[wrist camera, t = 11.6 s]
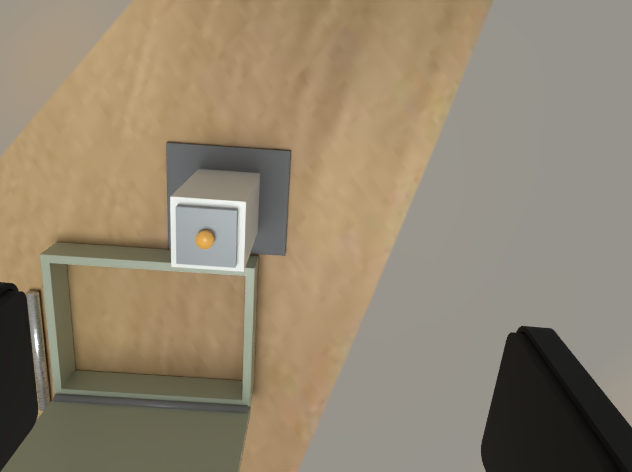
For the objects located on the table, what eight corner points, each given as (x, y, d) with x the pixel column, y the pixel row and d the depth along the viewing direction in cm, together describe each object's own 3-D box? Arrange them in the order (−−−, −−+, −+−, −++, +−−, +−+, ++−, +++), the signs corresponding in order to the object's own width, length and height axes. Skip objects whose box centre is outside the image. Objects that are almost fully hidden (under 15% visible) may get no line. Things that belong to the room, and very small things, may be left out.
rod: (29, 289, 48) (24, 294, 47) (41, 290, 48) (35, 295, 47) (42, 403, 52) (37, 410, 51) (52, 404, 52) (47, 411, 51)
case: (56, 242, 47) (-52, 320, 33) (258, 255, 47) (233, 339, 33) (70, 389, 52) (-21, 511, 38) (253, 400, 52) (229, 526, 38)
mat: (167, 142, 44) (166, 142, 44) (290, 150, 44) (290, 151, 44) (169, 246, 47) (168, 247, 47) (285, 254, 47) (284, 255, 47)
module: (198, 168, 44) (165, 201, 35) (260, 173, 44) (243, 206, 35) (198, 227, 46) (166, 273, 36) (257, 231, 46) (241, 278, 36)
